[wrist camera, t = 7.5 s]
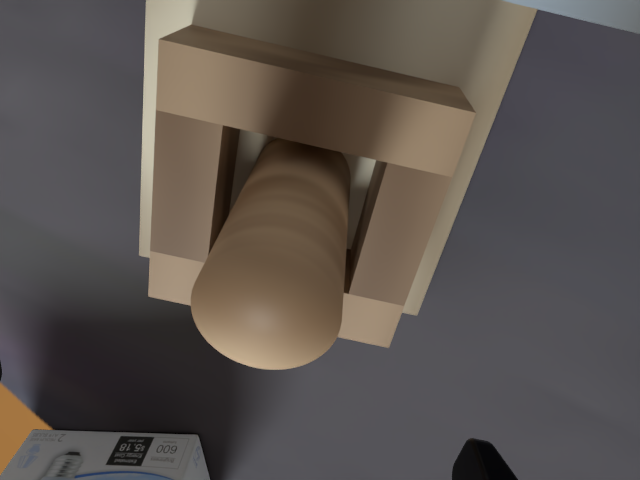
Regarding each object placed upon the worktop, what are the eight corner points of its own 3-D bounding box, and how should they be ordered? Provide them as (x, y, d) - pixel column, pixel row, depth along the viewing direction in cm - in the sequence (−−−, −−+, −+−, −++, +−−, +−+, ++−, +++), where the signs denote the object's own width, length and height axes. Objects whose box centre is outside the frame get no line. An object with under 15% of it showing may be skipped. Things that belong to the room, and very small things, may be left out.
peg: (338, 230, 20) (324, 382, 13) (248, 210, 20) (185, 353, 13) (361, 144, 18) (358, 267, 11) (261, 122, 18) (196, 232, 11)
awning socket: (610, -223, 14) (1018, -506, 5) (414, 294, 23) (443, 505, 14) (176, -336, 13) (-171, -851, 5) (152, 237, 22) (18, 419, 14)
